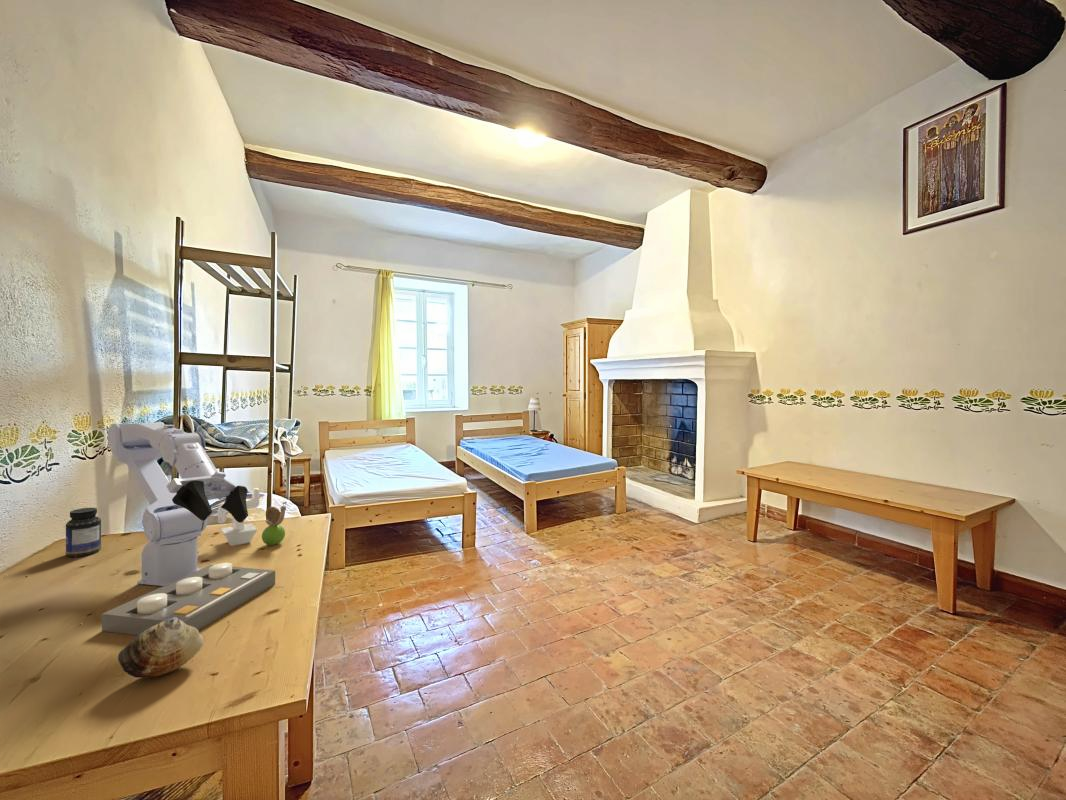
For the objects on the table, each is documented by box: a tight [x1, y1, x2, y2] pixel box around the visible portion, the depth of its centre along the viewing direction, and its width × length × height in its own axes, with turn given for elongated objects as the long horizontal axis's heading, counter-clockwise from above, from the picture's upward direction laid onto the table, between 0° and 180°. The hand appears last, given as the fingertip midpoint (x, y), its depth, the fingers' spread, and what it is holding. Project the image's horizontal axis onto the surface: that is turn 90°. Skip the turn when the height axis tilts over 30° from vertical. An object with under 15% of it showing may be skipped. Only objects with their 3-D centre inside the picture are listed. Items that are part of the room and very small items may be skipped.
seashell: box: [117, 617, 204, 679], centre depth 62 cm, size 10×6×8 cm, turn 130°
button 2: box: [209, 562, 233, 580], centre depth 89 cm, size 4×4×3 cm
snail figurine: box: [261, 501, 287, 546], centre depth 114 cm, size 5×6×12 cm
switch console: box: [101, 564, 276, 636], centre depth 82 cm, size 16×21×3 cm
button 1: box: [137, 593, 167, 615], centre depth 75 cm, size 4×4×3 cm
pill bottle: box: [65, 507, 102, 558], centre depth 106 cm, size 6×6×11 cm
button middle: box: [176, 577, 202, 596], centre depth 82 cm, size 4×4×3 cm
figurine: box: [217, 487, 261, 547], centre depth 115 cm, size 7×9×15 cm
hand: (226, 517), depth 82 cm, fingers open, 7 cm apart
